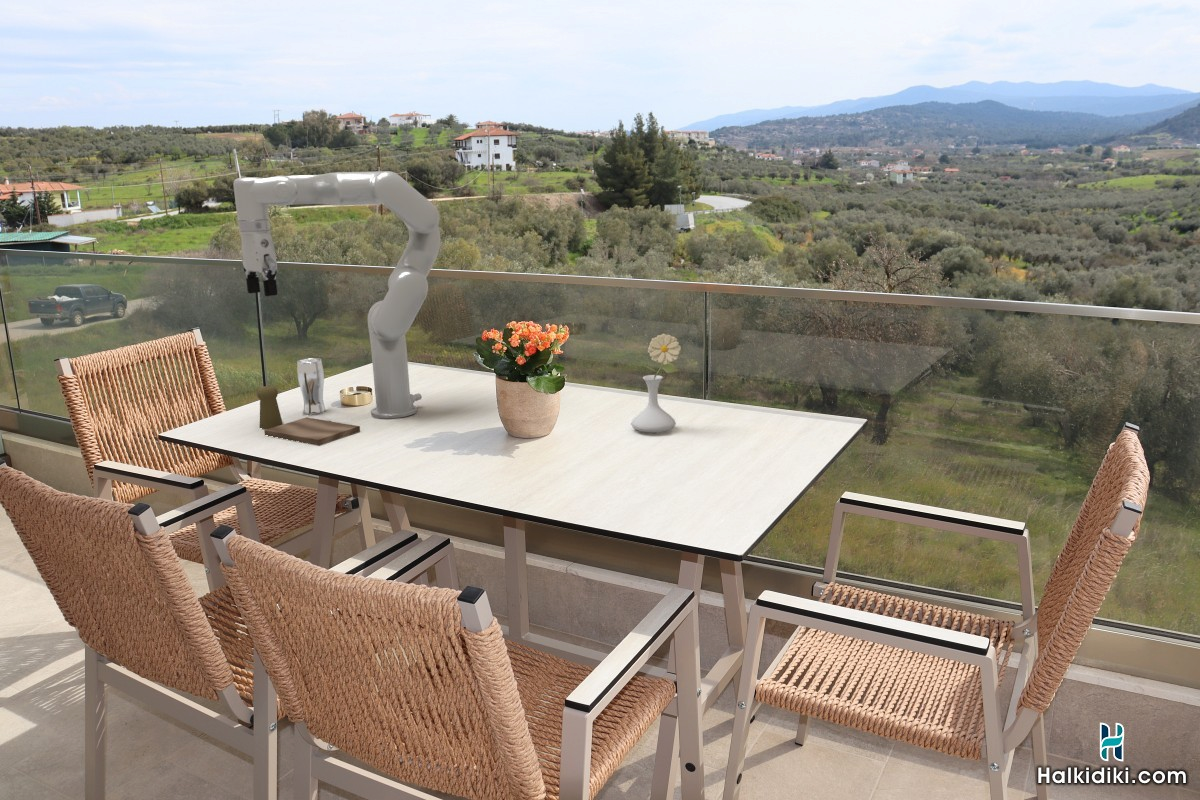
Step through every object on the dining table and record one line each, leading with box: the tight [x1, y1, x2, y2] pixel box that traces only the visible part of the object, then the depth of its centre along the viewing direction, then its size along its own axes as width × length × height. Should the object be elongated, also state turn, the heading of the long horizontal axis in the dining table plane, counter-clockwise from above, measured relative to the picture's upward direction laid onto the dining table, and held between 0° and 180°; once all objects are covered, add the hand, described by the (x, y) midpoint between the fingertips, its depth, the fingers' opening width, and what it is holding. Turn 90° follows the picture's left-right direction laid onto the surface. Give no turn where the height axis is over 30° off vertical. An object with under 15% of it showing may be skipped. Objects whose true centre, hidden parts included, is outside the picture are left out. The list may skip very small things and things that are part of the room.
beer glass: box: [296, 357, 327, 415], centre depth 258 cm, size 7×7×15 cm
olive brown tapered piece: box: [256, 385, 284, 430], centre depth 244 cm, size 6×6×11 cm
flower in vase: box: [630, 333, 682, 433], centre depth 229 cm, size 13×11×25 cm
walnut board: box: [263, 417, 361, 446], centre depth 237 cm, size 14×20×2 cm
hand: (262, 294), depth 237 cm, fingers open, 9 cm apart
